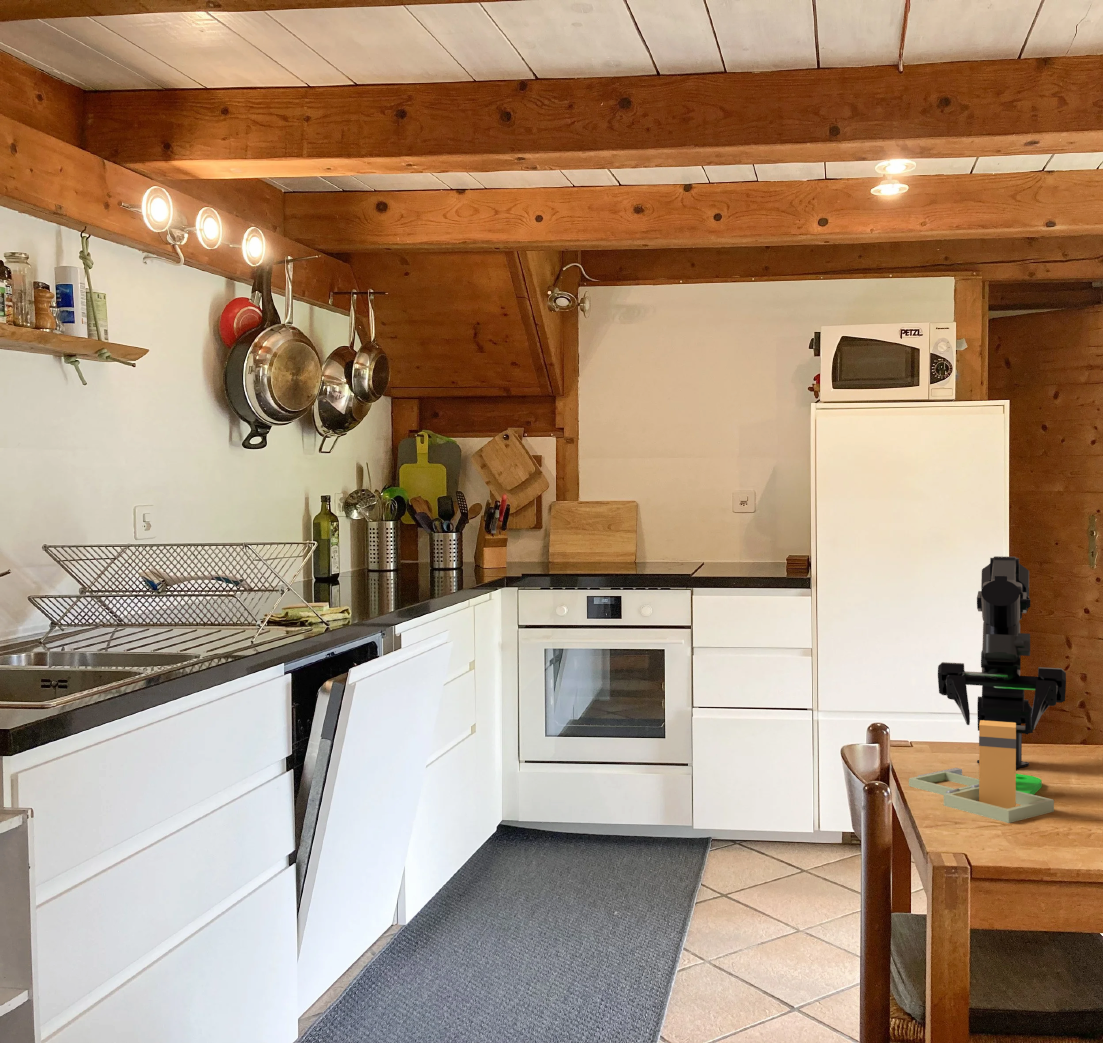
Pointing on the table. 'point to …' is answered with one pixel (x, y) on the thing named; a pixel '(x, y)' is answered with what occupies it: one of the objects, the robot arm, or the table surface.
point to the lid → (928, 780)
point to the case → (1028, 808)
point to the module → (997, 763)
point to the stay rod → (953, 770)
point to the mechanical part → (1028, 784)
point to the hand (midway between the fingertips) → (1000, 725)
